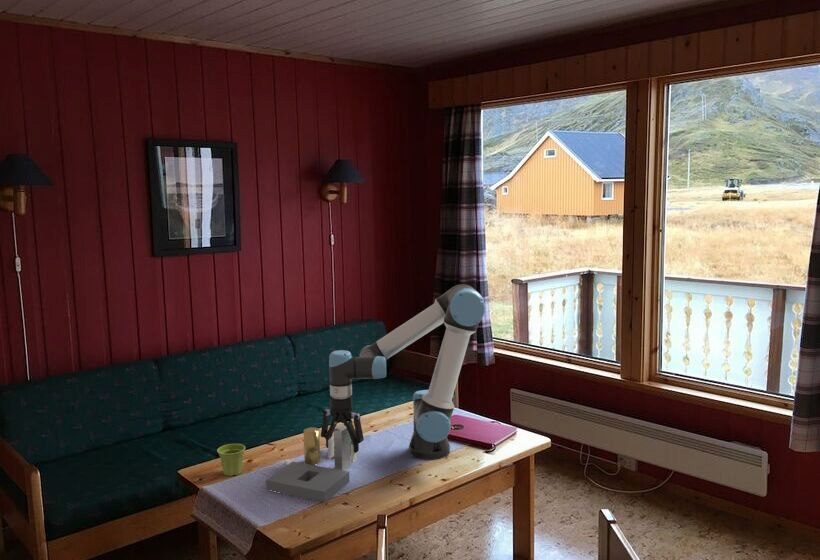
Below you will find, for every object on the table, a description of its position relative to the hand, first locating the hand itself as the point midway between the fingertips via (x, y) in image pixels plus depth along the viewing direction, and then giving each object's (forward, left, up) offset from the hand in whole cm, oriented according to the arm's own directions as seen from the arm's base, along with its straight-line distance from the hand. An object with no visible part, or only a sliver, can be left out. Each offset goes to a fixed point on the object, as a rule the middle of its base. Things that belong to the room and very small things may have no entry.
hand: (342, 458), depth 237 cm
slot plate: (+4, +16, -4) cm, 17 cm away
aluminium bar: (0, 0, -4) cm, 4 cm away
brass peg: (+13, -1, -4) cm, 14 cm away
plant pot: (+34, +17, -4) cm, 38 cm away
